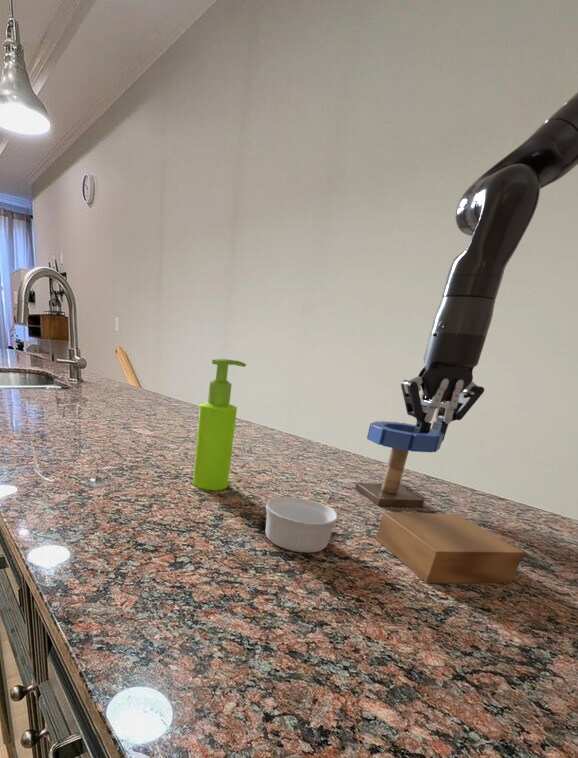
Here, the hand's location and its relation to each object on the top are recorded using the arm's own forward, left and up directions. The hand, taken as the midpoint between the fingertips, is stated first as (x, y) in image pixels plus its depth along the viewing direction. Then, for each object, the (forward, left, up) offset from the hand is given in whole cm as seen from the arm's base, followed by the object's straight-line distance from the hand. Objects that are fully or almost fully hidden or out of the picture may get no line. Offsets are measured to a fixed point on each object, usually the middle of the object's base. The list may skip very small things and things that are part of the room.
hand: (426, 444), depth 74 cm
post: (+4, 0, -10) cm, 11 cm away
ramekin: (+27, +17, -10) cm, 34 cm away
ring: (+4, 0, 0) cm, 4 cm away
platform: (+10, +22, -10) cm, 26 cm away
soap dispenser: (+34, -4, -10) cm, 36 cm away
